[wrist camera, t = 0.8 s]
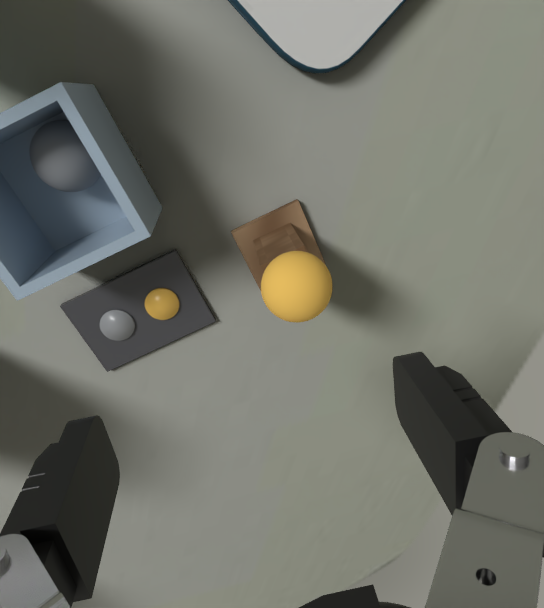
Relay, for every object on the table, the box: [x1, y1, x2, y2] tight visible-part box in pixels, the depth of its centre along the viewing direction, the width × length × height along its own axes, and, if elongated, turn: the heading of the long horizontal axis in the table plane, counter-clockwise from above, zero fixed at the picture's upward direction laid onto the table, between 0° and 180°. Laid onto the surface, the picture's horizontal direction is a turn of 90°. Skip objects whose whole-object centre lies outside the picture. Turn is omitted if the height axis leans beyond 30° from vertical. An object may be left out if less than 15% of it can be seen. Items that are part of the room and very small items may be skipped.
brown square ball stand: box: [231, 200, 325, 290], centre depth 32 cm, size 5×5×6 cm
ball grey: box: [29, 120, 101, 192], centre depth 28 cm, size 4×4×4 cm
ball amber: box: [261, 251, 332, 322], centre depth 27 cm, size 4×4×4 cm
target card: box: [60, 249, 216, 372], centre depth 35 cm, size 9×6×1 cm, turn 114°
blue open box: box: [0, 82, 162, 301], centre depth 28 cm, size 8×8×7 cm
